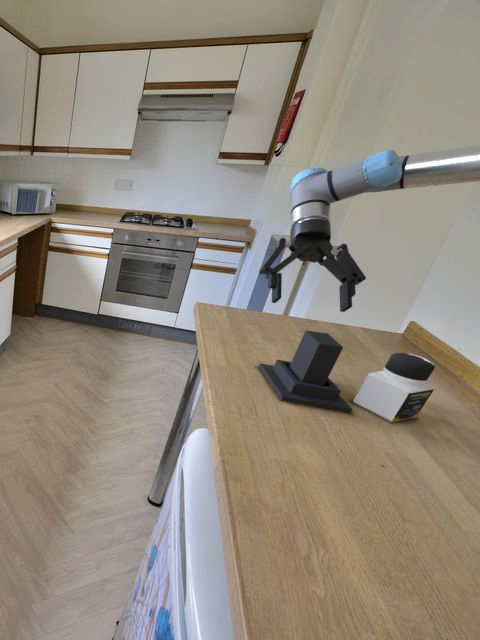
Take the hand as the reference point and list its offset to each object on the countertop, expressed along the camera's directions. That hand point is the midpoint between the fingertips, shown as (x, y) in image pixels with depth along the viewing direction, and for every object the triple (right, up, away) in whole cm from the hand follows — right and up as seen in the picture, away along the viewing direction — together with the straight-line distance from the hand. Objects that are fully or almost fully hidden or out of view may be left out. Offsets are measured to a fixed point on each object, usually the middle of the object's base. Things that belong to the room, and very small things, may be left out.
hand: (310, 304), depth 93 cm
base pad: (-6, -18, -4) cm, 20 cm away
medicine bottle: (+6, -22, -10) cm, 25 cm away
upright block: (-6, -18, -5) cm, 19 cm away
